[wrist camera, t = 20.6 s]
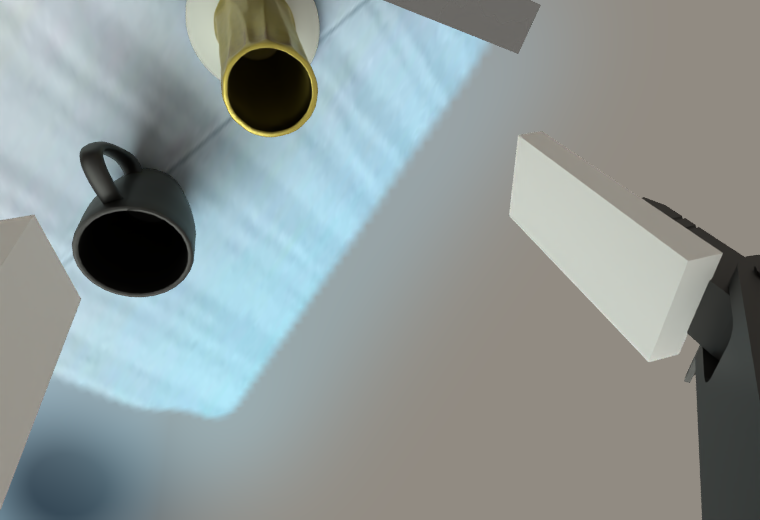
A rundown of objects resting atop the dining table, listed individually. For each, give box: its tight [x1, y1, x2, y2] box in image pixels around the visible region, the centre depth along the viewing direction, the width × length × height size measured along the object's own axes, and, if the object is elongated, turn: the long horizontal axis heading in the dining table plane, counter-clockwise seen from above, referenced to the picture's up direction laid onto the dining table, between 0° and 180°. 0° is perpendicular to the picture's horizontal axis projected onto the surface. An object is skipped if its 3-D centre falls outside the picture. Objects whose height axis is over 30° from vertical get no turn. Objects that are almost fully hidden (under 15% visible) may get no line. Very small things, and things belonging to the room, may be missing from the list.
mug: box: [72, 142, 196, 297], centre depth 39 cm, size 8×12×10 cm
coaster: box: [185, 0, 320, 81], centre depth 38 cm, size 10×10×1 cm
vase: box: [214, 0, 318, 137], centre depth 32 cm, size 6×6×14 cm
